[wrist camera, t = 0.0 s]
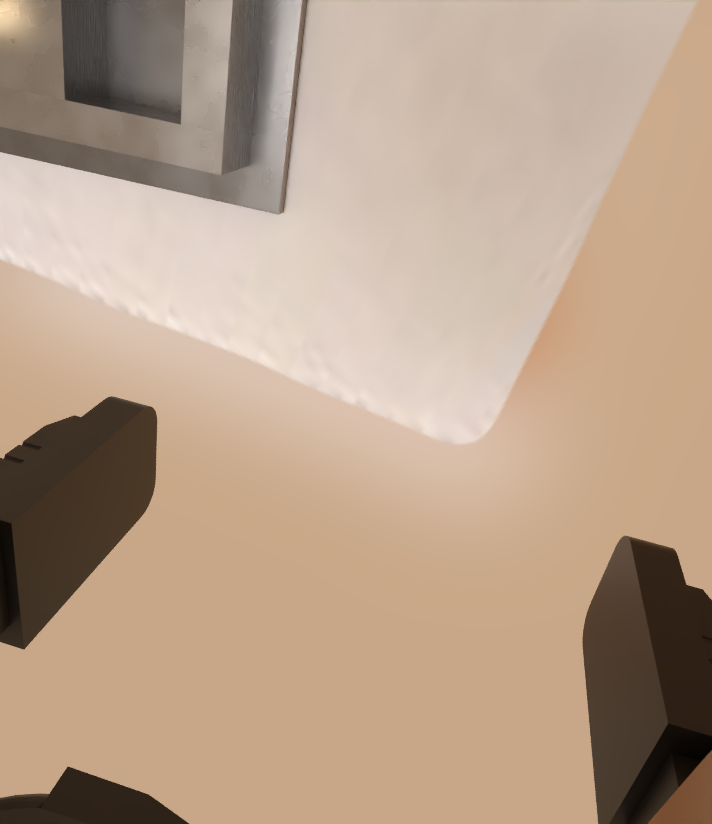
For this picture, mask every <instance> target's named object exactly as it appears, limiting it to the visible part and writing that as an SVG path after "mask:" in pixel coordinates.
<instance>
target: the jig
mask: <svg viewBox="0 0 712 824" xmlns="http://www.w3.org/2000/svg"><path fill="white" fill-rule="evenodd" d="M306 4H307V0H0V152H3V153H7V154H12V155H16V156H21V157H25V158H30V159H34V160H39V161H43V162H47V163H52V164H56V165H61V166H65V167H70V168H74V169H79V170H83V171H87V172H92V173H96V174H101V175H105V176H110V177H114V178H119V179H123V180H127V181H132V182H136V183H141V184H145V185H150V186H154V187H159V188H163V189H167V190H172V191H176V192H181V193H185V194H190V195H194V196H199V197H203V198H207V199H212V200H216V201H221V202H225V203H230V204H234V205H239V206H243V207H247V208H252V209H256V210H261V211H265V212H270V213H274V214H281V213H283V210H284V201H285V192H286V183H287V174H288V166H289V157H290V148H291V139H292V130H293V121H294V112H295V103H296V94H297V85H298V76H299V67H300V58H301V49H302V40H303V31H304V22H305V13H306Z"/></svg>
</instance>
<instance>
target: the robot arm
mask: <svg viewBox="0 0 712 824" xmlns="http://www.w3.org/2000/svg"><path fill="white" fill-rule="evenodd" d="M156 442H157V416H156V412H155V410H154V409H153V408H152V407H150V406H146V405H142V404H138V403H135V402H131V401H127V400H124V399H120V398H116V397H108V398H106V399H105V400H103V401H102V402H101V403H99V404H98V405H97V406H95V407H94V408H93V409H92V410H90V411H89V412H88V413H86V414H85V415H84V416H82V417H78V416H72V417H69V418H66V419H63V420H61V421H58V422H55V423H52V424H49V425H46V426H44V427H43V428H41V429H40V430H39V431H37V432H36V433H35V434H33V435H32V436H30V437H29V438H28V439H26V440H25V441H24V442H23V444H22V446H21V445H18V446H17V447H15V448H14V449H12V450H11V451H10V452H8V453H7V454H5V458H4V459H2V458H0V642H2V643H5V644H9V645H12V646H15V647H18V648H21V649H25V648H26V647H27V646H28V644H29V643H30V642H31V641H32V640H33V639H34V638H35V637H36V635H37V634H38V633H39V632H40V631H41V630H42V629H43V627H44V626H45V625H46V624H47V623H48V622H49V621H50V620H51V618H52V617H53V616H54V615H55V614H56V613H57V612H58V611H59V609H60V608H61V607H62V606H63V605H64V604H65V603H66V601H67V600H68V599H69V598H70V597H71V596H72V595H73V593H74V592H75V591H76V590H77V589H78V588H79V587H80V586H81V584H82V583H83V582H84V581H85V580H86V579H87V578H88V576H89V575H90V574H91V573H92V572H93V571H94V570H95V568H96V567H97V566H98V565H99V564H100V563H101V562H102V561H103V559H104V558H105V557H106V556H107V555H108V554H109V553H110V552H111V550H112V549H113V548H114V547H115V546H116V545H117V544H118V543H119V541H120V540H121V539H122V538H123V537H124V536H125V535H126V533H127V532H128V531H129V530H130V529H131V528H132V527H133V526H134V524H135V523H136V522H137V521H138V520H139V519H140V518H141V516H142V515H143V514H144V512H145V511H146V509H147V507H148V505H149V503H150V501H151V498H152V495H153V492H154V487H155V478H156ZM583 654H584V666H585V677H586V689H587V700H588V711H589V723H590V734H591V746H592V757H593V768H594V780H595V791H596V803H597V813H598V824H712V600H711V599H710V598H709V597H708V595H707V594H706V593H705V592H704V590H703V589H699V588H695V587H692V586H688V585H686V582H685V579H684V575H683V572H682V569H681V566H680V562H679V559H678V556H677V553H676V551H675V550H674V549H673V548H669V547H665V546H662V545H658V544H654V543H651V542H647V541H644V540H640V539H636V538H632V537H629V536H624V537H622V538H621V539H620V540H619V542H618V544H617V546H616V548H615V550H614V552H613V554H612V557H611V559H610V561H609V563H608V566H607V568H606V570H605V572H604V574H603V577H602V579H601V581H600V583H599V586H598V588H597V590H596V592H595V595H594V597H593V599H592V601H591V604H590V606H589V610H588V612H587V615H586V619H585V624H584V630H583ZM0 824H189V823H187V822H186V821H184V820H183V819H182V818H180V817H179V816H178V815H176V814H175V813H173V812H172V811H171V810H169V809H168V808H166V807H165V806H164V805H162V804H161V803H160V802H158V801H157V800H155V799H154V798H152V797H151V796H149V795H148V794H145V793H142V792H140V791H136V790H134V789H131V788H128V787H125V786H122V785H120V784H117V783H114V782H111V781H108V780H105V779H102V778H99V777H96V776H94V775H90V774H88V773H85V772H82V771H79V770H76V769H73V768H70V767H67V769H66V770H65V772H64V773H63V775H62V776H61V777H60V779H59V781H58V782H57V784H56V785H55V787H54V788H53V789H52V791H51V792H50V794H26V795H15V796H9V797H4V798H0Z"/></svg>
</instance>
